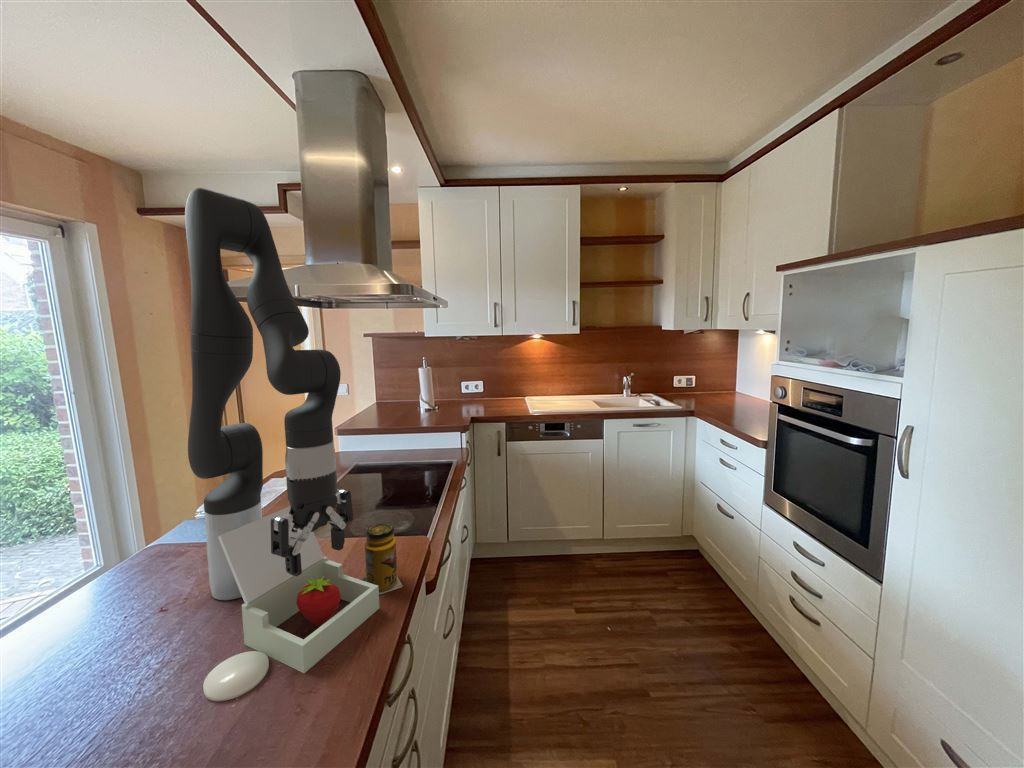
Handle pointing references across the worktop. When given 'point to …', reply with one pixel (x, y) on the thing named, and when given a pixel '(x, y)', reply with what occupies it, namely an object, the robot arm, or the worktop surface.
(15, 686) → the worktop surface
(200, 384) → the robot arm
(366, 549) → the condiment
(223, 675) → the cream white rounded part
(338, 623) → the cold frame
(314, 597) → the strawberry
